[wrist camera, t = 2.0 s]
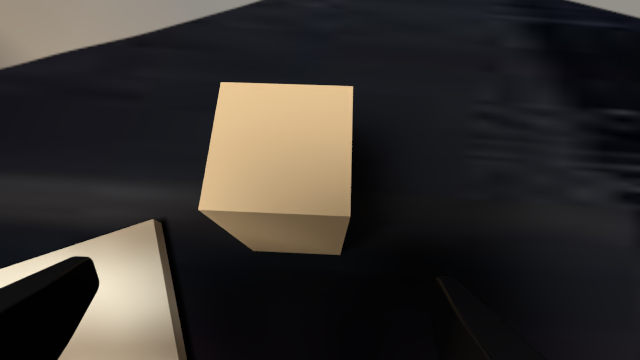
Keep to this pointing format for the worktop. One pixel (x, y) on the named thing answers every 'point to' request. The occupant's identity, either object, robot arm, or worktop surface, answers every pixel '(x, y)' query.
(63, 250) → the birch board
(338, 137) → the ochre block
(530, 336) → the worktop surface
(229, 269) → the worktop surface
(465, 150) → the worktop surface
